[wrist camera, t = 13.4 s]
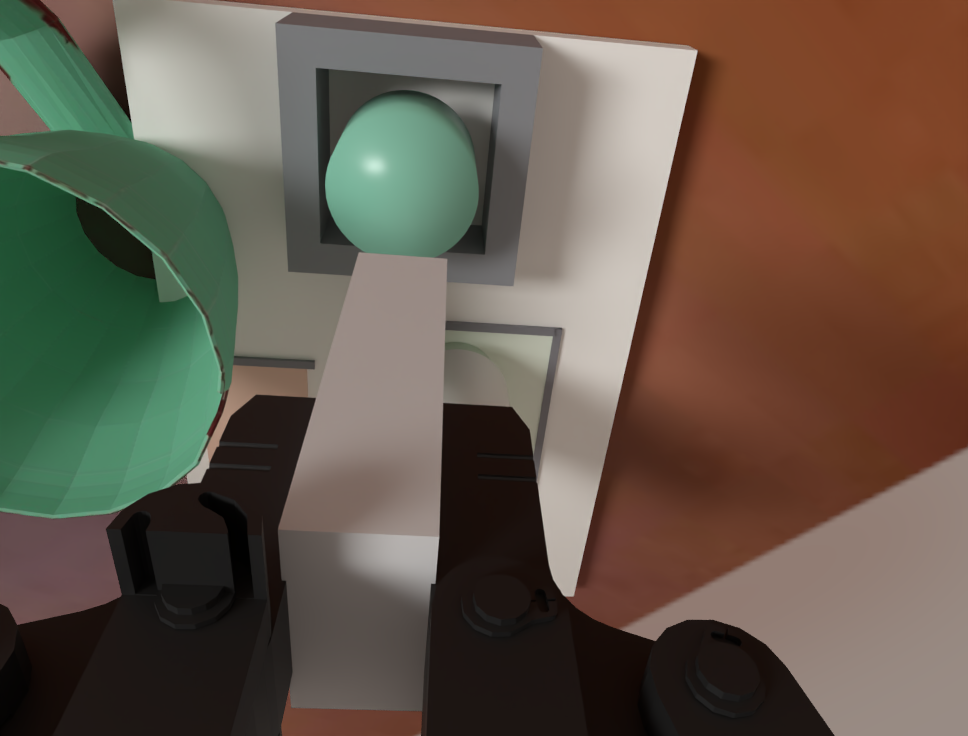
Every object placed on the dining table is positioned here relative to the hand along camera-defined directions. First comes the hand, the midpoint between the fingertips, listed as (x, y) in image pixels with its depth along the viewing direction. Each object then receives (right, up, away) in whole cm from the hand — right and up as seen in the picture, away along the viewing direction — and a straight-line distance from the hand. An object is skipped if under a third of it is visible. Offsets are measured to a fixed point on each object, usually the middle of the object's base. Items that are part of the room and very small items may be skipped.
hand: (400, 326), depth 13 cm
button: (-1, +5, +9) cm, 10 cm away
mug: (-11, +7, +11) cm, 17 cm away
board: (-2, 0, +15) cm, 16 cm away
